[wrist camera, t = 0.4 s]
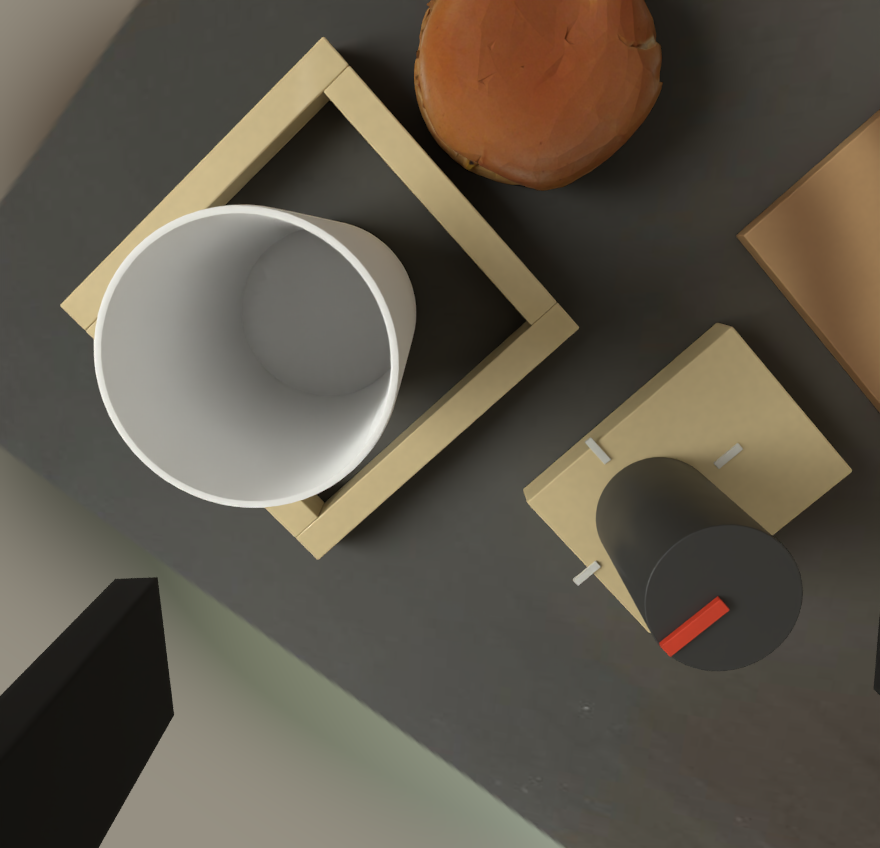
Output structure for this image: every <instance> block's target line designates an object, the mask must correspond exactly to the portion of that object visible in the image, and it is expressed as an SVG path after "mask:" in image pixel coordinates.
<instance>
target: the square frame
mask: <svg viewBox="0 0 880 848" xmlns="http://www.w3.org/2000/svg"><path fill="white" fill-rule="evenodd" d="M329 100H330V101H331V102H332V103H333V105H334V106H335V107H336V108H337V109H338V110H339V111H340V112H341V114H342V115H343V116H344V117H345V118H346V119H347V120H348V121H349V123H350V124H351V125H352V126H353V127H354V128H355V129H356V130H357V132H358V133H359V134H360V135H361V136H362V137H363V138H364V139H365V141H366V142H367V143H368V144H369V145H370V146H371V147H372V148H373V150H374V151H375V152H376V153H377V154H378V155H379V156H380V157H381V159H382V160H383V161H384V162H385V163H386V164H387V165H388V166H389V168H390V169H391V170H392V171H393V172H394V173H395V174H396V175H397V176H398V178H399V179H400V180H401V181H402V182H403V183H404V184H405V185H406V187H407V188H408V189H409V190H410V191H411V192H412V193H413V194H414V196H415V197H416V198H417V199H418V200H419V201H420V202H421V203H422V205H423V206H424V207H425V208H426V209H427V210H428V211H429V212H430V214H431V215H432V216H433V217H434V218H435V219H436V220H437V221H438V223H439V224H440V225H441V226H442V227H443V228H444V229H445V230H446V232H447V233H448V234H449V235H450V236H451V237H452V238H453V239H454V241H455V242H456V243H457V244H458V245H459V246H460V247H461V248H462V250H463V251H464V252H465V253H466V254H467V255H468V256H469V257H470V259H471V260H472V261H473V262H474V263H475V264H476V265H477V266H478V267H479V269H480V270H481V271H482V272H483V273H484V274H485V275H486V276H487V278H488V279H489V280H490V281H491V282H492V283H493V284H494V285H495V287H496V288H497V289H498V290H499V291H500V292H501V293H502V294H503V296H504V297H505V298H506V299H507V300H508V301H509V302H510V303H511V305H512V306H513V307H514V308H515V309H516V310H517V311H518V312H519V314H520V315H521V316H522V317H523V318H524V319H525V320H526V322H525V323H524V324H523V325H521V326H520V327H519V328H518V329H517V330H516V331H515V332H514V333H513V334H511V335H510V336H509V337H508V338H507V339H506V340H505V341H504V342H503V343H501V344H500V345H499V346H498V347H497V348H496V349H495V350H494V351H493V352H492V353H490V354H489V355H488V356H487V357H486V358H485V359H484V360H483V361H482V362H480V363H479V364H478V365H477V366H476V367H475V368H474V369H473V370H472V371H470V372H469V373H468V374H467V375H466V376H465V377H464V378H463V379H462V380H460V381H459V382H458V383H457V384H456V385H455V386H454V387H453V388H452V389H450V390H449V391H448V392H447V393H446V394H445V395H444V396H443V397H442V398H440V399H439V400H438V401H437V402H436V403H435V404H434V405H433V406H432V407H430V408H429V409H428V410H427V411H426V412H425V413H424V414H423V415H422V416H420V417H419V418H418V419H417V420H416V421H415V422H414V423H413V424H412V425H411V426H409V427H408V428H407V429H406V430H405V431H404V432H403V433H402V434H401V435H399V436H398V437H397V438H396V439H395V440H394V441H393V442H392V443H391V444H389V445H388V446H387V447H386V448H385V449H384V450H383V451H382V452H381V453H379V454H378V455H377V456H376V457H375V458H374V459H373V460H372V461H371V462H369V463H368V464H367V465H366V466H365V467H364V468H363V469H362V470H361V471H359V472H358V473H357V474H356V475H355V476H354V477H353V478H352V479H351V480H349V481H348V482H347V483H346V484H345V485H344V486H343V487H342V488H341V489H340V490H338V491H337V492H336V493H335V494H334V495H333V496H332V497H331V498H330V499H328V500H327V501H326V502H325V503H324V502H323V501H322V500H321V499H320V498H319V497H318V496H317V495H313V496H311V497H309V498H306V499H303V500H300V501H297V502H293V503H290V504H285V505H280V506H273V507H265V508H266V509H267V510H268V511H269V512H270V513H271V514H272V515H273V516H274V517H275V518H276V519H277V520H278V521H279V522H280V523H281V524H282V525H283V526H284V527H285V528H286V529H287V530H288V531H289V532H290V533H291V534H292V535H293V536H294V537H296V539H297V540H298V541H299V542H300V543H301V544H302V545H303V546H304V547H305V548H306V549H307V550H308V551H309V552H310V553H311V554H312V555H313V556H314V557H315V558H316V559H317V560H319V559H320V558H321V557H322V556H323V555H325V554H326V553H327V552H328V551H329V550H330V549H331V548H332V547H334V546H335V545H336V544H337V543H338V542H339V541H340V540H341V539H343V538H344V537H345V536H346V535H347V534H348V533H349V532H350V531H352V530H353V529H354V528H355V527H356V526H357V525H358V524H360V523H361V522H362V521H363V520H364V519H365V518H366V517H367V516H369V515H370V514H371V513H372V512H373V511H374V510H375V509H376V508H378V507H379V506H380V505H381V504H382V503H383V502H384V501H385V500H387V499H388V498H389V497H390V496H391V495H392V494H393V493H394V492H396V491H397V490H398V489H399V488H400V487H401V486H402V485H403V484H405V483H406V482H407V481H408V480H409V479H410V478H411V477H412V476H414V475H415V474H416V473H417V472H418V471H419V470H420V469H421V468H423V467H424V466H425V465H426V464H427V463H428V462H429V461H430V460H432V459H433V458H434V457H435V456H436V455H437V454H438V453H439V452H441V451H442V450H443V449H444V448H445V447H446V446H447V445H448V444H450V443H451V442H452V441H453V440H454V439H455V438H456V437H457V436H459V435H460V434H461V433H462V432H463V431H464V430H465V429H466V428H468V427H469V426H470V425H471V424H472V423H473V422H474V421H475V420H477V419H478V418H479V417H480V416H481V415H482V414H483V413H484V412H486V411H487V410H488V409H489V408H490V407H491V406H492V405H493V404H495V403H496V402H497V401H498V400H499V399H500V398H501V397H502V396H504V395H505V394H506V393H507V392H508V391H509V390H510V389H511V388H513V387H514V386H515V385H516V384H517V383H518V382H519V381H521V380H522V379H523V378H524V377H525V376H526V375H527V374H528V373H530V372H531V371H532V370H533V369H534V368H535V367H536V366H537V365H539V364H540V363H541V362H542V361H543V360H544V359H545V358H546V357H548V356H549V355H550V354H551V353H552V352H553V351H554V350H555V349H557V348H558V347H559V346H560V345H561V344H562V343H563V342H564V341H566V340H567V339H568V338H569V337H570V336H571V335H572V334H573V333H575V332H576V331H577V330H578V329H579V326H578V325H577V324H576V323H575V322H574V321H573V319H572V318H571V317H570V316H569V315H568V314H567V313H566V311H565V310H564V309H563V308H562V307H561V306H560V305H559V303H557V302H556V300H555V299H554V298H553V297H552V296H551V294H550V293H549V292H548V291H547V290H546V289H545V288H544V286H543V285H542V284H541V283H540V282H539V281H538V280H537V278H536V277H535V276H534V275H533V274H532V273H531V272H530V270H529V269H528V268H527V267H526V266H525V265H524V264H523V262H522V261H521V260H520V259H519V258H518V257H517V256H516V255H515V253H514V252H513V251H512V250H511V249H510V248H509V247H508V245H507V244H506V243H505V242H504V241H503V240H502V239H501V237H500V236H499V235H498V234H497V233H496V232H495V231H494V229H493V228H492V227H491V226H490V225H489V224H488V223H487V221H486V220H485V219H484V218H483V217H482V216H481V215H480V213H479V212H478V211H477V210H476V209H475V208H474V207H473V205H472V204H471V203H470V202H469V201H468V200H467V199H466V197H465V196H464V195H463V194H462V193H461V192H460V191H459V189H458V188H457V187H456V186H455V185H454V184H453V183H452V182H451V180H450V179H449V178H448V177H447V176H446V175H445V174H444V172H443V171H442V170H441V169H440V168H439V167H438V166H437V164H436V163H435V162H434V161H433V160H432V159H431V158H430V156H429V155H428V154H427V153H426V152H425V151H424V150H423V148H422V147H421V146H420V145H419V144H418V143H417V142H416V140H415V139H414V138H413V137H412V136H411V135H410V134H409V132H408V131H407V130H406V129H405V128H404V127H403V126H402V124H401V123H400V122H399V121H398V120H397V119H396V118H395V117H394V115H393V114H392V113H391V112H390V111H389V110H388V109H387V107H386V106H385V105H384V104H383V103H382V102H381V101H380V99H379V98H378V97H377V96H376V95H375V94H374V93H373V91H372V90H371V89H370V88H369V87H368V86H367V85H366V83H365V82H364V81H363V80H362V79H361V78H360V77H359V75H358V74H357V73H356V72H355V71H354V70H353V69H352V67H350V66H349V64H348V63H347V62H346V61H345V60H344V58H343V57H342V56H341V55H340V54H339V53H338V52H337V50H336V49H335V48H334V47H333V46H332V45H331V44H330V42H329V41H328V40H327V39H326V38H325V37H322V38H321V39H320V40H319V41H318V42H317V43H316V44H315V45H314V46H313V47H312V48H311V49H310V50H309V51H308V52H307V53H306V54H305V55H304V56H303V57H302V58H301V60H300V61H299V62H298V63H297V64H296V65H295V66H294V67H293V68H292V69H291V70H290V71H289V72H288V73H287V74H286V75H285V76H284V77H283V78H282V79H281V80H280V81H279V82H278V83H277V84H276V85H275V86H274V87H273V88H272V89H271V90H270V91H269V92H268V93H267V94H266V95H265V96H264V97H263V98H262V99H261V100H260V101H259V102H258V103H257V104H256V105H255V106H254V107H253V109H252V110H251V111H250V112H249V113H248V114H247V115H246V116H245V117H244V118H243V119H242V120H241V121H240V122H239V123H238V124H237V125H236V126H235V127H234V128H233V129H232V130H231V131H230V132H229V133H228V134H227V135H226V136H225V137H224V138H223V139H222V140H221V141H220V142H219V143H218V144H217V145H216V146H215V147H214V148H213V149H212V150H211V151H210V152H209V153H208V154H207V155H206V156H205V158H204V159H203V160H202V161H201V162H200V163H199V164H198V165H197V166H196V167H195V168H194V169H193V170H192V171H191V172H190V173H189V174H188V175H187V176H186V177H185V178H184V179H183V180H182V181H181V182H180V183H179V184H178V185H177V186H176V187H175V188H174V189H173V190H172V191H171V192H170V193H169V194H168V195H167V196H166V197H165V198H164V199H163V200H162V201H161V202H160V203H159V204H158V205H157V207H156V208H155V209H154V210H153V211H152V212H151V213H150V214H149V215H148V216H147V217H146V218H145V219H144V220H143V221H142V222H141V223H140V224H139V225H138V226H137V227H136V228H135V229H134V230H133V231H132V232H131V233H130V234H129V235H128V236H127V237H126V238H125V239H124V240H123V241H122V242H121V243H120V244H119V245H118V246H117V247H116V248H115V249H114V250H113V251H112V252H111V253H110V255H109V256H108V257H107V258H106V259H105V260H104V261H103V262H102V263H101V264H100V265H99V266H98V267H97V268H96V269H95V270H94V271H93V272H92V273H91V274H90V275H89V276H88V277H87V278H86V279H85V280H84V281H83V282H82V283H81V284H80V285H79V286H78V287H77V288H76V289H75V290H74V291H73V292H72V293H71V294H70V295H69V296H68V297H67V298H66V299H65V300H64V301H63V302H62V304H61V305H60V306H61V307H62V308H63V309H64V310H65V311H66V312H67V313H68V314H69V315H70V316H71V317H72V318H73V319H74V320H75V321H76V322H77V323H78V324H79V325H80V326H81V327H82V328H83V329H84V330H86V332H87V333H88V334H89V335H90V336H91V337H92V338H93V339H94V337H95V327H96V322H97V317H98V312H99V309H100V305H101V302H102V299H103V297H104V294H105V292H106V289H107V287H108V285H109V283H110V281H111V279H112V278H113V276H114V274H115V272H116V271H117V269H118V268H119V266H120V265H121V264H122V262H123V261H124V259H125V258H126V257H127V256H128V255H129V254H130V253H131V251H132V250H133V249H134V248H135V247H136V246H137V245H138V244H140V243H141V242H142V241H143V240H144V239H145V238H146V237H148V236H149V235H150V234H152V233H153V232H154V231H156V230H157V229H159V228H161V227H162V226H164V225H166V224H167V223H169V222H171V221H173V220H175V219H178V218H180V217H182V216H184V215H187V214H190V213H193V212H196V211H199V210H203V209H208V208H212V207H217V206H225V205H226V204H227V203H228V202H229V201H230V200H231V199H232V198H233V197H234V196H235V195H236V194H237V193H238V192H239V191H240V190H241V189H242V188H243V187H244V186H245V185H246V184H247V183H248V182H249V181H250V180H251V179H252V178H253V177H254V176H255V175H256V174H257V173H258V172H259V171H260V170H261V169H262V168H263V167H264V166H265V165H266V164H267V163H268V162H269V160H270V159H271V158H272V157H273V156H274V155H275V154H276V153H277V152H278V151H279V150H280V149H281V148H282V147H283V146H284V145H285V144H286V143H287V142H288V141H289V140H290V139H291V138H292V137H293V136H294V135H295V134H296V133H297V132H298V131H299V130H300V129H301V128H302V127H303V126H304V125H305V124H306V123H307V122H308V121H309V120H310V119H311V118H312V117H313V116H314V115H315V114H316V113H317V112H318V111H319V110H320V109H321V108H322V107H323V106H324V105H325V104H326V103H327V102H328V101H329Z"/></svg>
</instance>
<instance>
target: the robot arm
mask: <svg viewBox="0 0 880 848" xmlns="http://www.w3.org/2000/svg"><path fill="white" fill-rule="evenodd" d="M874 690H875V691H876V692H877V693H878V694H879V695H880V618H879V630H878V642H877V655H876V667H875V679H874ZM173 716H174V711H173V703H172V694H171V686H170V678H169V669H168V661H167V653H166V644H165V636H164V628H163V619H162V611H161V604H160V595H159V586H158V578H131V579H115V580H114V581H113V582H112V583H111V584H110V585H109V586H108V587H107V588H106V589H105V590H104V591H103V592H102V593H101V594H100V595H99V596H98V597H97V598H96V599H95V600H94V601H93V602H92V603H91V604H90V605H89V606H88V607H87V608H86V609H85V610H84V611H83V612H82V613H81V614H80V616H78V618H77V619H75V620H74V622H72V623H71V625H70V626H69V627H68V628H67V629H66V630H65V631H64V632H63V633H62V634H61V635H60V636H59V637H58V638H57V639H56V640H55V641H54V642H53V643H52V644H51V645H50V646H49V647H48V648H47V649H46V650H45V651H44V652H43V653H42V654H41V655H40V656H39V657H38V658H37V659H36V660H35V661H34V662H33V663H32V664H31V665H30V666H29V667H28V668H27V669H26V670H25V671H24V673H22V674H21V676H19V677H18V678H17V680H15V681H14V683H13V684H12V685H11V686H10V687H9V688H8V689H7V690H6V691H5V692H4V693H3V694H2V695H1V696H0V848H99V846H100V844H101V843H102V841H103V839H104V837H105V835H106V834H107V832H108V830H109V828H110V827H111V825H112V823H113V821H114V820H115V818H116V816H117V814H118V813H119V811H120V809H121V807H122V806H123V804H124V802H125V800H126V798H127V797H128V795H129V793H130V791H131V789H132V788H133V786H134V784H135V783H136V781H137V779H138V777H139V775H140V773H141V772H142V770H143V769H144V767H145V765H146V763H147V762H148V760H149V758H150V756H151V754H152V753H153V751H154V749H155V747H156V746H157V744H158V742H159V740H160V739H161V737H162V735H163V733H164V732H165V730H166V728H167V726H168V724H169V723H170V721H171V719H172V717H173Z"/></svg>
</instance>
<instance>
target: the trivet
mask: <svg viewBox="0 0 880 848" xmlns="http://www.w3.org/2000/svg"><path fill="white" fill-rule="evenodd" d="M736 237H737V238H738V239H739V241H740V242H741V243H742V244H743V245H744V247H745V248H746V249H747V250H748V252H749V253H750V254H751V255H752V257H753V258H754V259H755V260H756V261H757V263H758V264H759V265H760V266H761V268H762V269H763V270H764V271H765V273H766V274H767V275H768V276H769V277H770V279H771V280H772V281H773V282H774V284H775V285H776V286H777V287H778V289H779V290H780V291H781V292H782V293H783V295H784V296H785V297H786V298H787V300H788V301H789V302H790V303H791V304H792V306H793V307H794V308H795V309H796V311H797V312H798V313H799V314H800V316H801V317H802V318H803V319H804V320H805V322H806V323H807V324H808V325H809V327H810V328H811V329H812V330H813V332H814V333H815V334H816V335H817V336H818V338H819V339H820V340H821V341H822V343H823V344H824V345H825V346H826V348H827V349H828V350H829V351H830V352H831V354H832V355H833V356H834V357H835V359H836V360H837V361H838V362H839V364H840V365H841V366H842V367H843V368H844V370H845V371H846V372H847V373H848V375H849V376H850V377H851V378H852V380H853V381H854V382H855V383H856V384H857V386H858V387H859V388H860V389H861V391H862V392H863V393H864V394H865V396H866V397H867V398H868V399H869V400H870V402H871V403H872V404H873V405H874V407H875V408H876V409H877V410H878V412H879V413H880V110H878V111H877V112H876V113H875V114H874V115H873V116H872V117H870V118H869V119H868V120H867V121H866V122H865V123H864V124H862V125H861V126H860V127H859V128H858V129H857V130H856V131H854V132H853V133H852V134H851V135H850V136H849V137H848V138H846V139H845V140H844V141H843V142H842V143H841V144H840V145H838V146H837V147H836V148H835V149H834V150H833V151H832V152H831V153H829V154H828V155H827V156H826V157H825V158H824V159H823V160H821V161H820V162H819V163H818V164H817V165H816V166H815V167H813V168H812V169H811V170H810V171H809V172H808V173H807V174H805V175H804V176H803V177H802V178H801V179H800V180H799V181H797V182H796V183H795V184H794V185H793V186H792V187H791V188H789V189H788V190H787V191H786V192H785V193H784V194H783V195H782V196H780V197H779V198H778V199H777V200H776V201H775V202H774V203H772V204H771V205H770V206H769V207H768V208H767V209H766V210H764V211H763V212H762V213H761V214H760V215H759V216H758V217H756V218H755V219H754V220H753V221H752V222H751V223H750V224H748V225H747V226H746V227H745V228H744V229H743V230H742V231H740V232H739V233H738V234H737V235H736Z"/></svg>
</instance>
